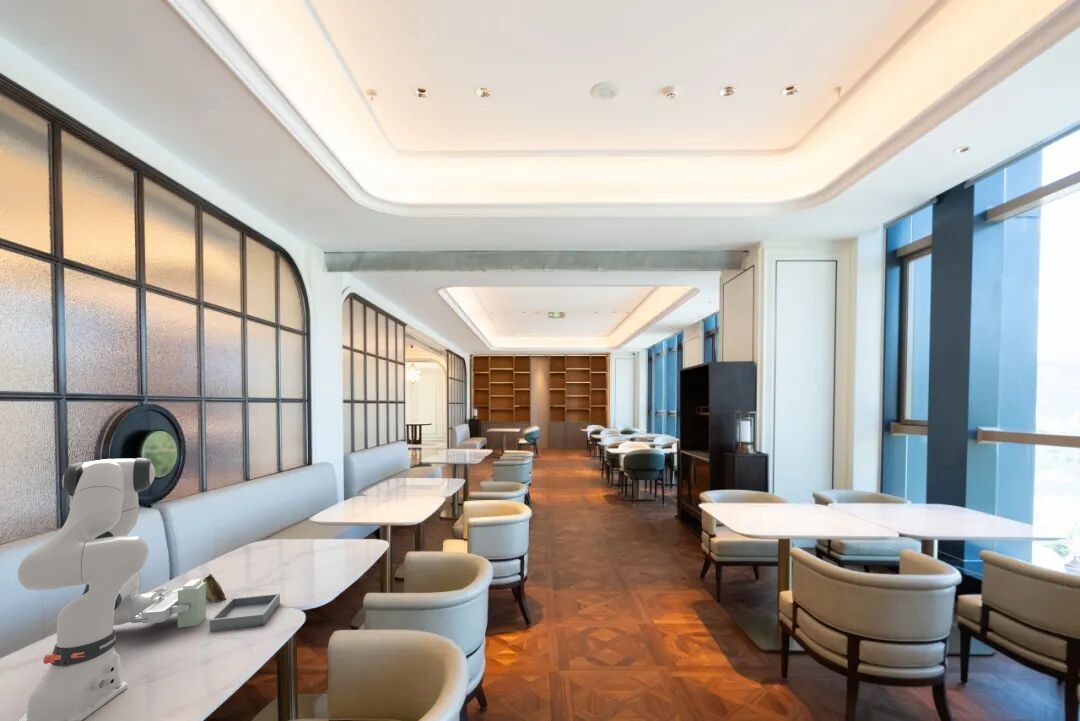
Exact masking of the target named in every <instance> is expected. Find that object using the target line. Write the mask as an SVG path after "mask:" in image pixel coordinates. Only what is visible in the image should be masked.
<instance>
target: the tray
mask: <svg viewBox="0 0 1080 721" xmlns="http://www.w3.org/2000/svg"><path fill="white" fill-rule="evenodd" d="M280 604H281V594H280V593H274V594H263V595H262V594H261V595H254V596H253V595H252V596H243V597H241V596H240V597H233V598H230V599H229V601H228V602H226V603H225V604H224V606H223V607H221V608H220V609H219V611H217V613H215V615H214V616H212V617H211V619H209V632H214V631H215V632H217V631H224V630H234V629H243V628H251V627H253V628H254V627H261V626H265V624H266V623H267V621H268V620H269V619H270V618H271V616H272V614H273V613H274V612H275V611H276V610H277V608H278V606H280Z"/></svg>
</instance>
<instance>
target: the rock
mask: <svg viewBox="0 0 1080 721" xmlns="http://www.w3.org/2000/svg"><path fill="white" fill-rule="evenodd" d="M202 582H206V600H209V601H212V602H220V601H224V600H227V598H226V594H225V592H224V591H223V588H222V586H221V584H220V582H219V581H217V580H216V577H215V576H214V575H213V574H212V573H209V574H208V575H207V576H206V577H204V578H203V581H202Z"/></svg>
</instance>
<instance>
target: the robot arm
mask: <svg viewBox="0 0 1080 721" xmlns="http://www.w3.org/2000/svg"><path fill="white" fill-rule="evenodd" d="M155 476H156V469H155V466H154V465H153V462H152V461H151V460H150V459H149V458H143V457H136V458H106V459H99V460H98V459H97V460H92V461H79V462H76V463H73V464H70V465H69V466H68V467H67V468H66V469H65V471H64V474H63V476H62V480H61V483H62V488H63V490H64V493H66V495H68V496H70V497H73V498H72V502H71V505H70V506H71V507H70V510H69V513H68V516H67V518H66V521H65V522H64V524H63V525H62V527H61V529H59V530H58V531H57V533H56V534H55V535H53V536H52V537H51V538H50V539H49V540H47V541H46V542H45V543H43V544H42V545H41V546H40V545H39V546H38V547H37V548H35V549H33V550H31V551H30V552H28V553H27V554H26V555H25V556H24V558H23V559H22V561H21V562H20V564H19V565H18V566H19V567H18V570H17V578H18V581H19V583H20V585H21V586H23V587H24V589H27V590H29V591H47V590H48V591H50V590H58V589H63V588H70V587H75V586H82V585H85V588H84V591H83V593H82V595H80V596H78V597H77V598H75V599H73V600H71V601H70V602H68V603H67V604H65V605H64V606H63V607H62V608H61V610H60V611H59V612H58V614H57V618H56V643H55V645H54V648H53V650H52V653H51V654H46V655H44V657H43V664H44V665H48V664H50V666H49V668H48V669H47V670H46V672H45V674H44V675H43V676H42V678H41V679H40V681H39V683H38V684H37V686H36V687H35V689H34V691H33V692H32V693H31V695H30V696H29V699H28V703H27V709H26V710H27V711H26V712H25V713H24V714H23V715H22V716H21V717H20V718H19V719H18V721H83V720H84V719H86V718H87V717H89V716H90V715H91V714H93V713H94V712H96V711H97V710H98V709H100V708H101V707H103V705H105V704H107V703H108V702H109V701H111V700H112V699H114V698H115V697H116V696H118V695H119V694H120V693H122V692H123V691H124V690H126V689H127V688H128V683H127V682H126V681H124V680H123V674H122V664H121V656H120V654H119V653H118V652H117V651H116V649H115V647H114V646H115V645H116V638H117V634H116V630H115V628H114V626H120V625H124V624H128V623H131V624H140V623H142V624H157V623H158V624H159V623H163V622H165V621H167V620H168V619H169V618H170V617H171V616H173V615H175V614H178V613H179V612H182V611H188V610H189V609H190V608H191V604H190V603H189V604H184V605H180V606H178V590H179V589H181V588H182V587H179V588H177V587H176V588H170V589H168V588H167V587H163V588H160V589H157V590H155V591H151V592H150V591H148V592H146V593H145V592H144V593H139V591H140V588H141V574H140V573H139V571H141V569H143V567H144V566H145V564H146V563H147V560H148V557H149V547H148V544H147V542H146V541H145V540H144V539H143V538H142V537H141V536H138V535H137V536H136V535H130V533H131V532H132V531H133V529H134V528H135V527H136V525H137V522H138V519H139V518H138V517H139V511H140V509H139V506H140V505H139V494H138V493H140V492H143V491H145V490H147V489H149V488H150V487H151V486H152V484H153V482H154V480H155Z"/></svg>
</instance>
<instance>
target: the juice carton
mask: <svg viewBox="0 0 1080 721" xmlns="http://www.w3.org/2000/svg"><path fill="white" fill-rule="evenodd" d="M180 588H181V589H179V590H178V606H180V605H184V604H189V603H190V604H191V608H190V609H189V610H188V611H182V612H179V613H177V628H178V629H179V628H188V627H196V626H197V627H198V626H199V625H200V624H201V623H202V622H203V621H204V620H205V619H206V618H207V598H206V582H203V581H202V578H198V579H197V578H196V579H191V580H189V581H188V582H187V583H185V584H184V585H183V586H182V587H180Z"/></svg>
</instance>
